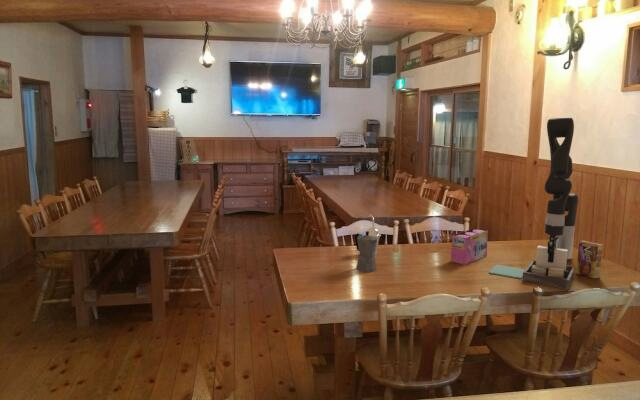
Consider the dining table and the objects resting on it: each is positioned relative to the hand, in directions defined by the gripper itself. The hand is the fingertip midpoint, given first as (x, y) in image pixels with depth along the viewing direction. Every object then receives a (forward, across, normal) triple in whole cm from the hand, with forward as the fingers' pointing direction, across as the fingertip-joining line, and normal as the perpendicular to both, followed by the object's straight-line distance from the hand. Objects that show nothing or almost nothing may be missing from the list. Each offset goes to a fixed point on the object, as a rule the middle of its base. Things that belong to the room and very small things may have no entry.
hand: (551, 260), depth 217 cm
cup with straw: (+8, +12, -83) cm, 84 cm away
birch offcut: (+7, +9, +4) cm, 12 cm away
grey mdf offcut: (+7, +9, -3) cm, 12 cm away
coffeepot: (+8, +38, -74) cm, 83 cm away
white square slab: (+7, 0, 0) cm, 7 cm away
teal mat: (+7, +4, -17) cm, 19 cm away
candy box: (+7, -12, +14) cm, 20 cm away
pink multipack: (+8, -7, -38) cm, 40 cm away
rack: (+7, +4, 0) cm, 9 cm away
